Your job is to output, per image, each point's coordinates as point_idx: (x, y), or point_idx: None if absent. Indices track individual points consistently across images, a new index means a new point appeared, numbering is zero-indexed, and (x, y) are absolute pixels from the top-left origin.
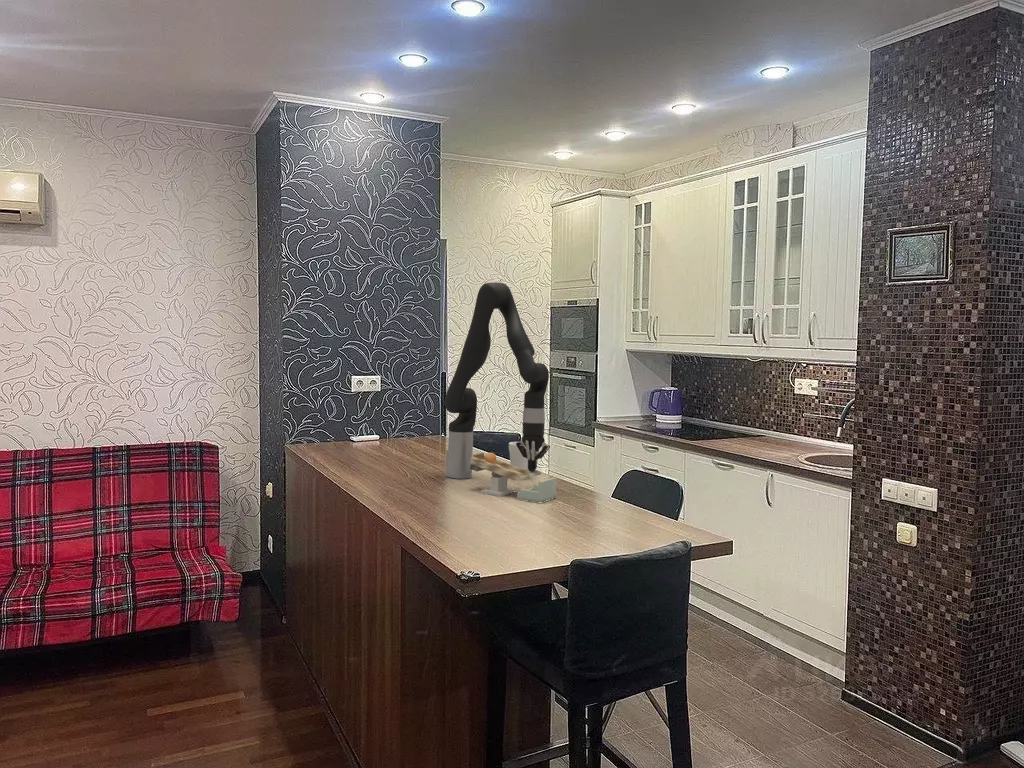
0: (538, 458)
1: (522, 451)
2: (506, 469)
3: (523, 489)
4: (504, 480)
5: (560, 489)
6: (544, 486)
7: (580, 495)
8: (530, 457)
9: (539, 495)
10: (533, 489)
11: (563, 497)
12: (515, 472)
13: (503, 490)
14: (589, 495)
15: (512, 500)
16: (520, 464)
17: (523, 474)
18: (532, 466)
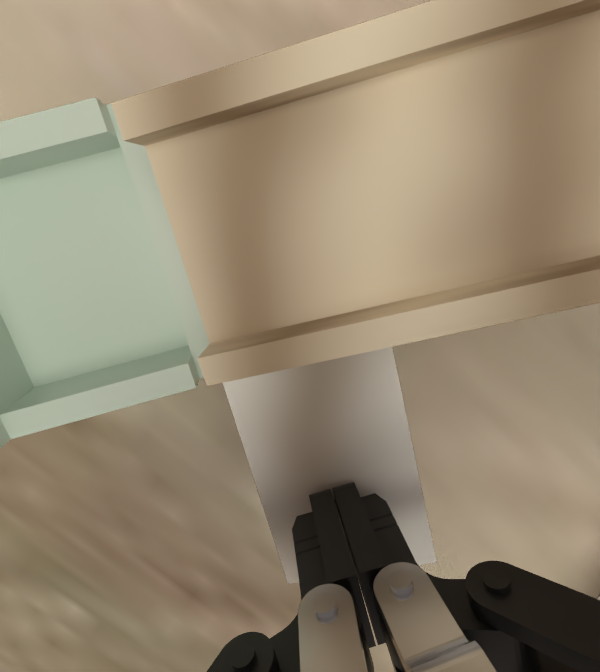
0: (222, 654)
1: (584, 636)
2: (361, 48)
3: (76, 127)
4: None
5: (247, 612)
6: None
7: (32, 608)
8: (382, 613)
9: None
10: (190, 346)
11: (34, 477)
12: (209, 110)
13: None
14: (3, 653)
15: (144, 49)
16: None
17: (251, 303)
18: (315, 526)
